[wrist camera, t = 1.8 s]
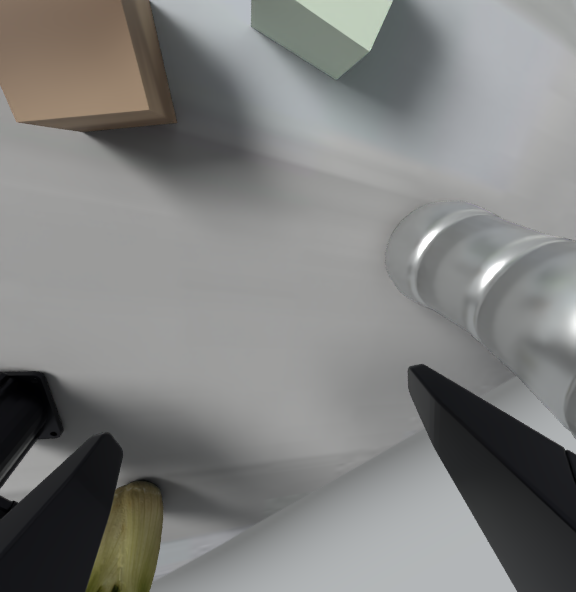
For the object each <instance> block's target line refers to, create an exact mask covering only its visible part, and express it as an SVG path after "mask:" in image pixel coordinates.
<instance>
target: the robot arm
mask: <svg viewBox="0 0 576 592" xmlns="http://www.w3.org/2000/svg"><path fill="white" fill-rule="evenodd" d="M35 378H36V379H35ZM408 388H409V392H410V395H411V398H412V400H413V402H414V404H415V406H416V409H417V411H418V413H419V415H420V418H421V420H422V422H423V424H424V427H425V429H426V431H427V433H428V436H429V438H430V440H431V442H432V444H433V446H434V448H435V450H436V452H437V454H438V455H439V457H440V459H441V461H442V462H443V464H444V466H445V468H446V469H447V471H448V473H449V474H450V476H451V478H452V480H453V481H454V483H455V485H456V486H457V488H458V490H459V492H460V493H461V495H462V497H463V499H464V500H465V502H466V504H467V506H468V507H469V509H470V510H471V512H472V514H473V516H474V518H475V519H476V521H477V523H478V525H479V526H480V528H481V530H482V531H483V533H484V535H485V536H486V538H487V540H488V542H489V544H490V545H491V547H492V549H493V550H494V552H495V554H496V556H497V557H498V559H499V561H500V562H501V564H502V566H503V567H504V569H505V571H506V573H507V575H508V576H509V578H510V580H511V582H512V583H513V585H514V587H515V588H516V590H517V592H576V454H574V453H573V452H571V451H569V450H566V451H565V449H564V447H562V446H561V445H559V444H557V443H555V442H554V441H552V440H550V439H549V438H547V437H545V436H544V435H542V434H540V433H539V432H537V431H535V430H533V429H532V428H530V427H528V426H527V425H525V424H524V423H522V422H520V421H518V420H517V419H515V418H513V417H512V416H510V415H508V414H507V413H505V412H503V411H501V410H500V409H498V408H497V407H495V406H493V405H492V404H490V403H488V402H486V401H485V400H483V399H481V398H480V397H478V396H476V395H475V394H473V393H471V392H470V391H468V390H466V389H465V388H463V387H461V386H460V385H458V384H456V383H454V382H453V381H451V380H449V379H448V378H446V377H444V376H443V375H441V374H439V373H438V372H436V371H434V370H433V369H431V368H429V367H428V366H426V365H424V364H419V365H414V366H410V367H409V368H408ZM62 433H63V427H62V424H61V421H60V418H59V415H58V413H57V410H56V407H55V404H54V401H53V398H52V395H51V393H50V390H49V387H48V384H47V381H46V378H45V376H44V375H43V374H42V373H40V372H36V371H32V372H0V488H1V487H2V486H3V484H4V483H5V482H6V480H7V479H8V478H9V476H10V475H11V474H12V472H13V471H14V470H15V468H16V467H17V466H18V464H19V463H20V462H21V460H22V459H23V458H24V456H25V455H26V454H27V452H28V451H29V450H30V448H31V447H32V446H33V444H34V443H35V442H36V440H37V439H49V438H58V437H60V435H61V434H62ZM122 458H123V450H122V448H121V447H120V445H119V444H118V443H117V441H116V440H115V439H114V437H113V436H112V435H111V434H110V433H108V432H105V433H100V434H96V435H93V436H92V437H90V438H89V439H88V440H87V441H86V442H85V443H84V444H83V445H82V446H81V447H80V448H78V449H77V450H76V451H75V452H74V453H73V454H72V455H71V456H70V457H69V458H67V459H66V460H65V461H64V462H63V463H62V464H61V465H60V466H59V467H58V468H56V469H55V470H54V471H53V472H52V473H51V474H50V475H49V476H48V477H47V478H46V479H44V480H43V481H42V482H41V483H40V484H39V485H38V486H37V487H36V488H35V489H33V490H32V491H31V492H30V493H29V494H28V495H27V496H26V497H25V498H24V499H22V500H21V501H20V502H19V503H18V502H16V501H10V500H8V499H6V498H4V497H2V496H0V592H85V591H86V588H87V585H88V582H89V579H90V575H91V572H92V569H93V566H94V563H95V560H96V556H97V553H98V550H99V547H100V544H101V541H102V538H103V534H104V531H105V528H106V525H107V522H108V518H109V515H110V511H111V507H112V503H113V499H114V494H115V490H116V485H117V481H118V476H119V472H120V467H121V463H122Z"/></svg>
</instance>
